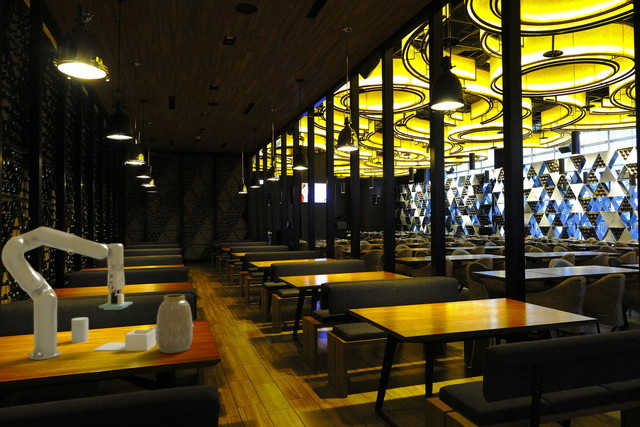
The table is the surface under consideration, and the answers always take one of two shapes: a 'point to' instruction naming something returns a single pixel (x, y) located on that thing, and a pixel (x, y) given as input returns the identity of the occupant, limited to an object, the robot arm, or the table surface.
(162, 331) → the vase
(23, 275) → the robot arm
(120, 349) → the mat
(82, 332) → the cup
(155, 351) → the table surface
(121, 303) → the lid
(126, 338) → the box
